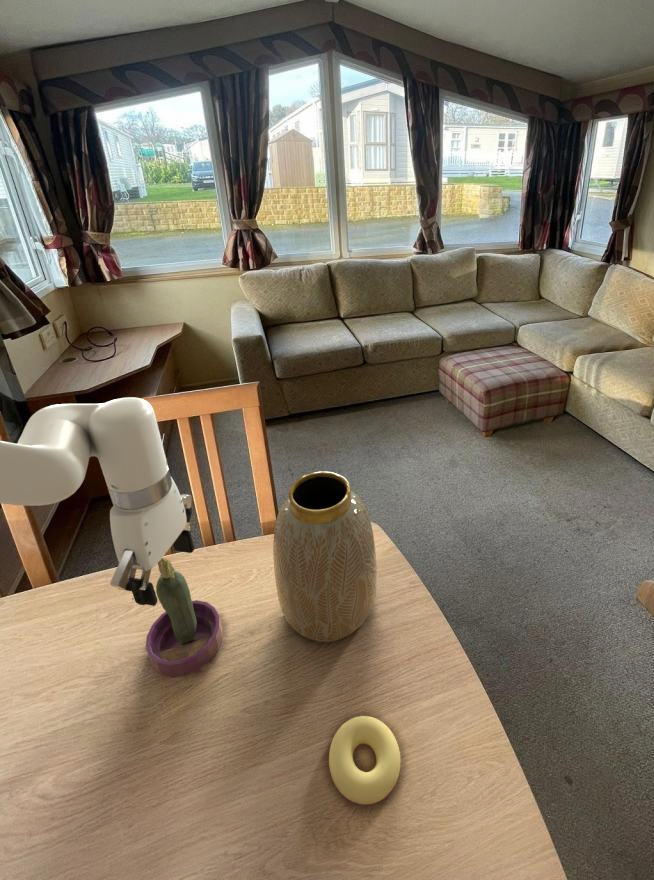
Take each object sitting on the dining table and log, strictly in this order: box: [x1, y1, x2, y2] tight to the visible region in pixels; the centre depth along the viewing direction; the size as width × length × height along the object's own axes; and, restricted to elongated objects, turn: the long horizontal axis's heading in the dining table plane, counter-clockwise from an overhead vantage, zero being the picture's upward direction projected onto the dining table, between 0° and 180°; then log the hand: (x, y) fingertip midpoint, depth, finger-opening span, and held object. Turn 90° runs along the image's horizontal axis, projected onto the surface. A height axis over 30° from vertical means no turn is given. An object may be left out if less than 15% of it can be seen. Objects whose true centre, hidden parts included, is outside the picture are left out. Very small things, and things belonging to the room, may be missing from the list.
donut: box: [328, 715, 401, 806], centre depth 65 cm, size 10×5×9 cm
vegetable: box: [155, 557, 197, 646], centre depth 76 cm, size 4×4×20 cm
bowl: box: [145, 599, 224, 678], centre depth 80 cm, size 11×11×4 cm
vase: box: [272, 471, 378, 643], centre depth 81 cm, size 17×17×27 cm
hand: (166, 575), depth 73 cm, fingers open, 9 cm apart
